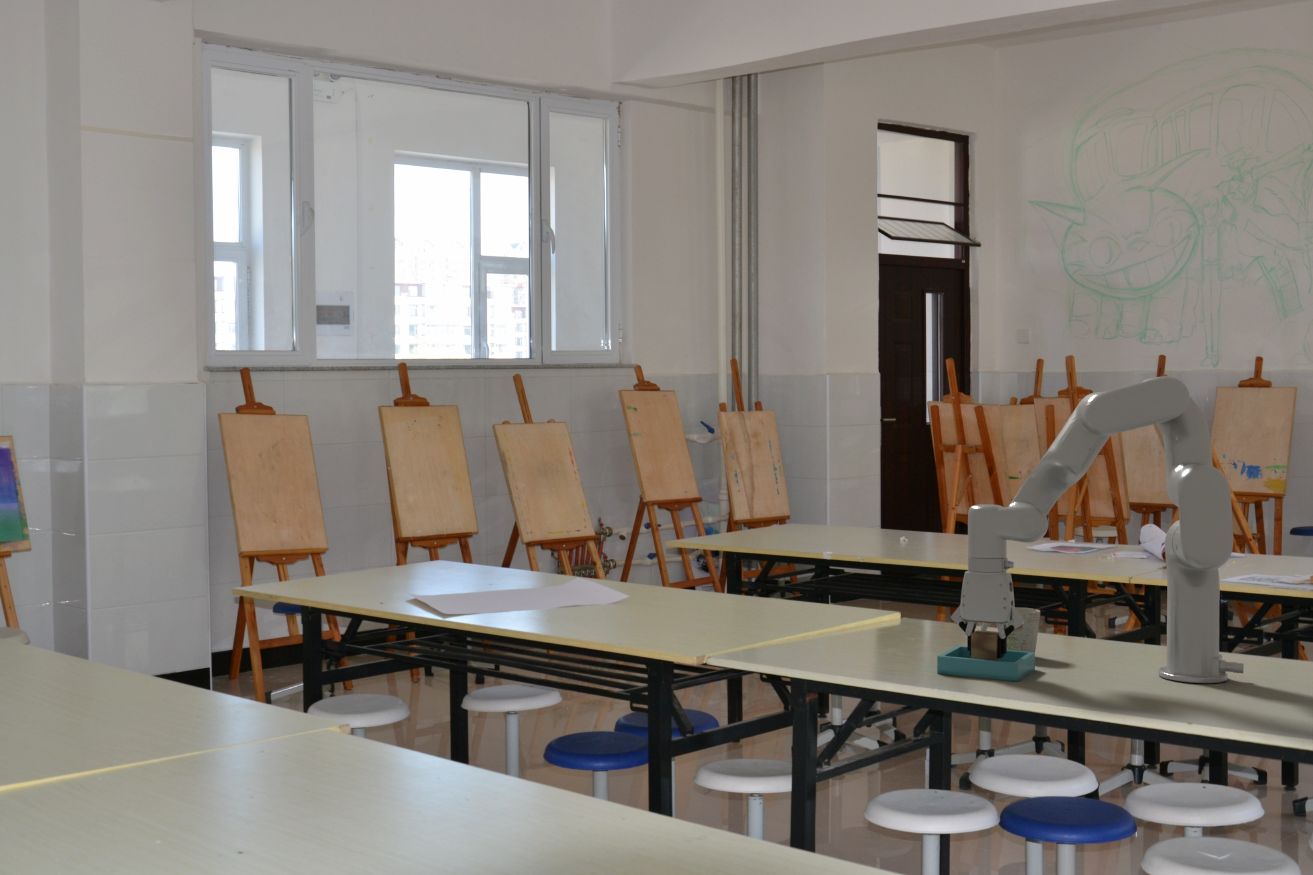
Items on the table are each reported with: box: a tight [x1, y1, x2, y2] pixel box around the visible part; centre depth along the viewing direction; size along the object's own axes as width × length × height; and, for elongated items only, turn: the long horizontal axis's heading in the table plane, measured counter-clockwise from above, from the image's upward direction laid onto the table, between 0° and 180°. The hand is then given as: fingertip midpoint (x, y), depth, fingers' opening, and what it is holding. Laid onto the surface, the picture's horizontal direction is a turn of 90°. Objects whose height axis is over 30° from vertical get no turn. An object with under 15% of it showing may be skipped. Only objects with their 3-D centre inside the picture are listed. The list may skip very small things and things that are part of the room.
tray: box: [936, 645, 1036, 683], centre depth 258 cm, size 16×14×4 cm
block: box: [971, 629, 1000, 661], centre depth 258 cm, size 5×5×5 cm
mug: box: [980, 606, 1041, 653], centre depth 274 cm, size 8×13×10 cm, turn 89°
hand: (986, 655), depth 258 cm, fingers closed on block, 4 cm apart
